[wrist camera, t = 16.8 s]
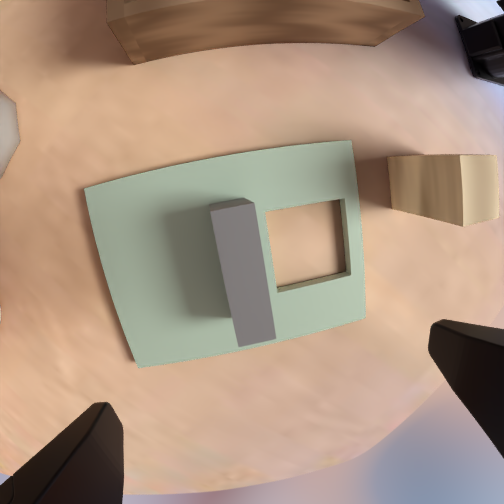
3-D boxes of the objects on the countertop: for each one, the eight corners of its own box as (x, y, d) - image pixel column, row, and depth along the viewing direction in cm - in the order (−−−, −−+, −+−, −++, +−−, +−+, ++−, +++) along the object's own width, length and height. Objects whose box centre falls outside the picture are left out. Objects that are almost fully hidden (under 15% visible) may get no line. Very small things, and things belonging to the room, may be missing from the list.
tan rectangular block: (424, 154, 19) (496, 155, 12) (428, 202, 20) (499, 217, 13) (386, 156, 18) (459, 155, 12) (391, 208, 19) (463, 226, 13)
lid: (345, 141, 18) (381, 134, 14) (360, 313, 21) (390, 341, 17) (88, 188, 16) (57, 192, 12) (139, 361, 19) (129, 401, 15)
